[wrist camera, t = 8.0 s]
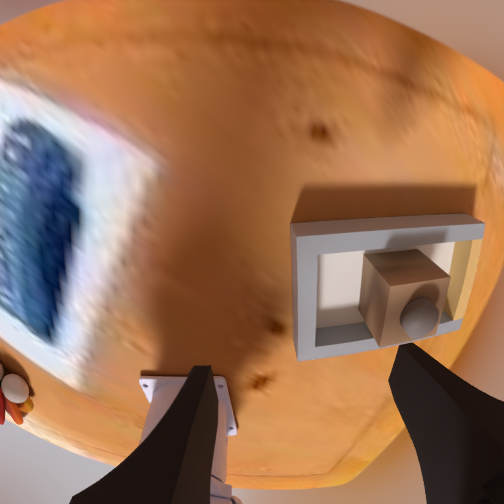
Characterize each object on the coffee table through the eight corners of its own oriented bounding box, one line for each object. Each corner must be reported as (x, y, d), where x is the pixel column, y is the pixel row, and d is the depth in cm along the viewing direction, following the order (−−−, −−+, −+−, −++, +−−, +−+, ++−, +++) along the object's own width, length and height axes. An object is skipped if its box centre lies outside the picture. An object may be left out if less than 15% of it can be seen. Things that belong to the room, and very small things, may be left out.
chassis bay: (445, 314, 22) (459, 329, 20) (293, 339, 22) (297, 361, 20) (465, 213, 18) (485, 223, 16) (290, 223, 19) (296, 236, 16)
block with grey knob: (408, 301, 21) (442, 343, 16) (358, 309, 21) (384, 357, 16) (417, 248, 19) (459, 284, 14) (363, 254, 19) (397, 295, 14)
